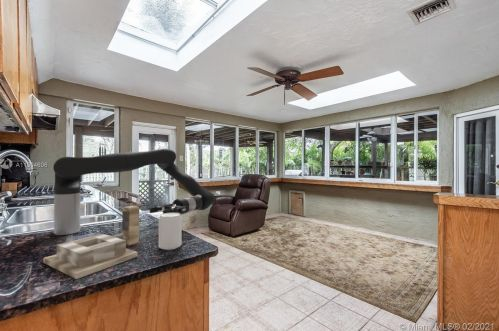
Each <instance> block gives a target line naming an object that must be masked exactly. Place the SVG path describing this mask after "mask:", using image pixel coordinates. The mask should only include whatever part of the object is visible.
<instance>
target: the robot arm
mask: <svg viewBox="0 0 499 331" xmlns="http://www.w3.org/2000/svg"><path fill="white" fill-rule="evenodd" d="M176 160H177V154H176V152H175V151H174V150H172V149H171V148H159V149H154V150H148V151H146V150H145V151H133V152H116V153H107V154H102V155H97V156H89V157H88V156H87V157H85V156H84V157H83V156H81V157H80V156H62V157H60V158H58V159H57V160H56V161H55V162H54V164H53V169H52V170H53V172H54V189H53V204H54V205H53V223H54V224H53V235H56V236H65V235H72V234H76V233H79V232H80V231H81V209H82V208H81V200H82V199H81V198H82V197H81V194H82V193H81V189H82V188H81V187H82V183H81V182H82V181H81V180H82V178H81V177H82V176H84V175H85V176H86V175H91V174H107V173H109V174H110V173H111V174H112V173H113V174H115V173H124V172H132V171H134V170H138V169H141V168H143V167H147V166H150V165H152V166H153V165H157V167H159V169H161V170H162V171H163V172H165V173H166V174H168V175H169V176H170V177H172V178H173V179H174V180H175V181H176V182H178V183H179V185H181V186H182V187H183V188H184V189H185V190H186V191H187V193H189V195H191V196H190V197H182V198H177V199H174V200H173V201H172V203H162V204H156V205H154V207H153V206H152V207H150V208H149V213H150V214H154V213H159V212H160V213H162V214H164V213H180V216H182V215H185V214H188V213H191V212H194V211H205V210H207V209H209V208H210V207H211V206H212V205H213V204H214V203H215V202H216V196H215V195H214V193H213V192H211V191H209V190H208V189H207V188H205V187H203V186H202V185H200V184H199V182H198V181H196V179H195V178H193V176H192V175H189V174H187V173H185V172H184V171H182V170H181V169H180V168H179V167H178V166H177V164H175V161H176ZM198 195H199V196H198Z"/></svg>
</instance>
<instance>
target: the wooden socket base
mask: <svg viewBox="0 0 499 331" xmlns="http://www.w3.org/2000/svg"><path fill="white" fill-rule="evenodd" d="M138 252H139V251H136V250H132V249H129V248H127V245H126V240H123V238H116V237H113V235H109V234H105V233H98V234H94V235H91V236H87V237H82V238H79V239H75V240H71V241H66V242H62V243H58V244H56V254H53V255H49V256H45V257H43V261H42V262H43V264H45V265H47V266H49V267H51V268H53V269H55V270H58V271H59V272H61V273H63V274H65V275H67V276H68V277H71V278H73V279H76V280H78V279H80V278H84V277H86V276H89V275H91V274H94V273H97V272H100V271H103V270H105V269H108V268H110V267H113V266H115V265H118V264H121V263H124V262H126V261H129V260H132V259H134V258H137V257H138V255H139V254H138Z"/></svg>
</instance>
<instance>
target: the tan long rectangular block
mask: <svg viewBox="0 0 499 331" xmlns="http://www.w3.org/2000/svg"><path fill="white" fill-rule="evenodd" d="M121 213H122V215H121V217H122V218H121V221H122V222H121V223H122V225H121V227H122V228H121V229H122V232H123V238H122V239H123V240H126V246H132V245H135V244H139V242H140V240H139V239H140V235H139V231H140V206H137V205H129V206H124V207H123V208H122V211H121Z"/></svg>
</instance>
